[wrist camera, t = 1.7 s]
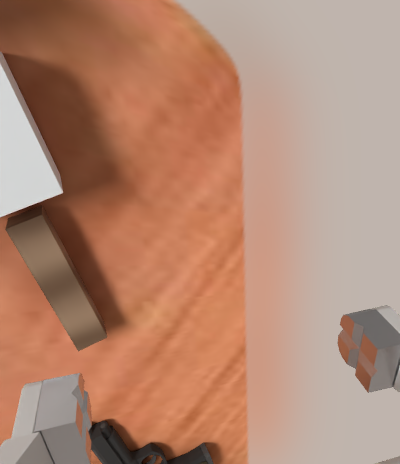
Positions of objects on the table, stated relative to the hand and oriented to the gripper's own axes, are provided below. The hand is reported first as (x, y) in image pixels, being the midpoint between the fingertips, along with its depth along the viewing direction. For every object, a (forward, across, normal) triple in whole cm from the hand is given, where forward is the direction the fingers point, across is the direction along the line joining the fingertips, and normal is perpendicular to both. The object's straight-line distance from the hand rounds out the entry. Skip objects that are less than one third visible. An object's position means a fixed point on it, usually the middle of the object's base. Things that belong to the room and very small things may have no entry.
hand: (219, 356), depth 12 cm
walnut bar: (+25, -10, -12) cm, 29 cm away
